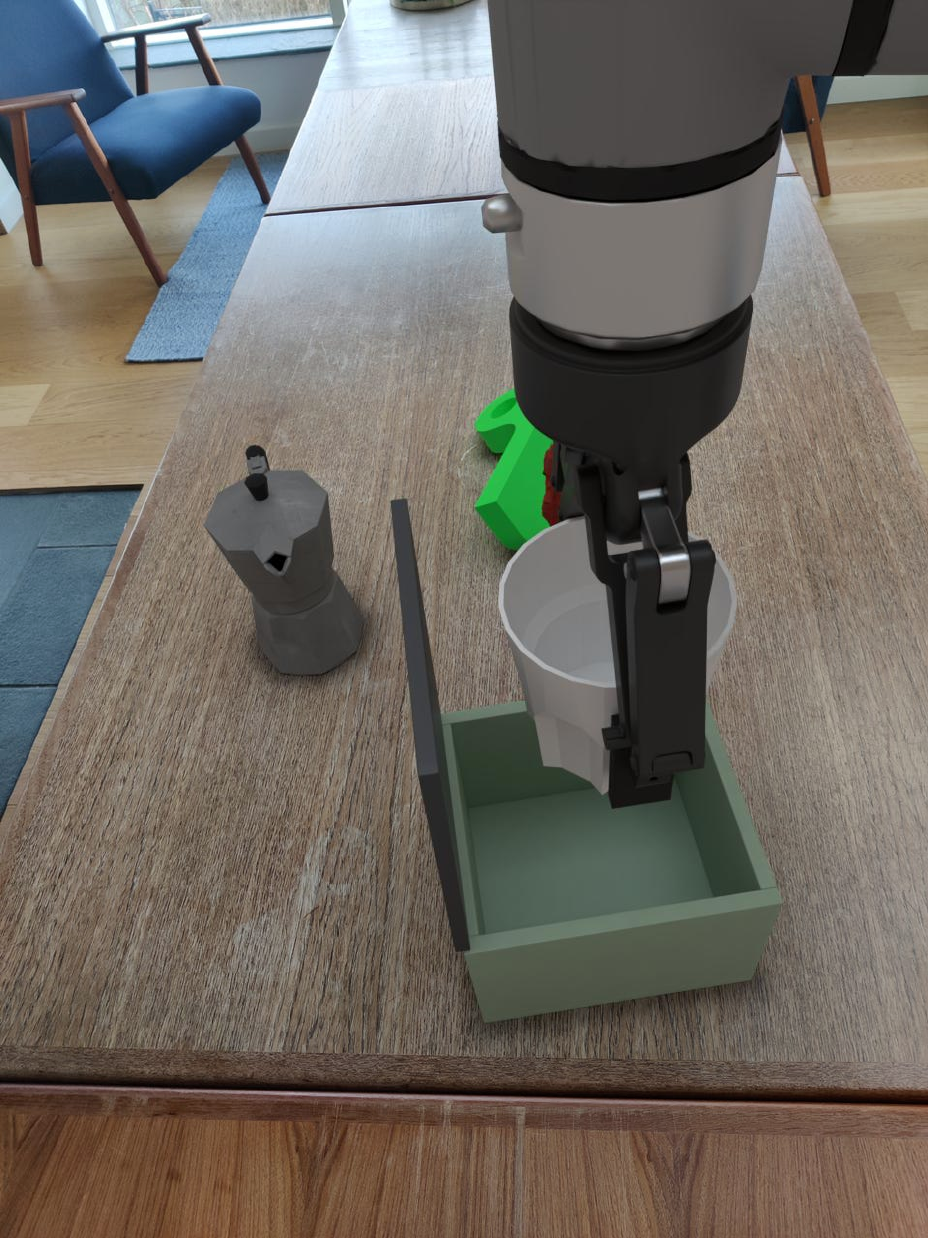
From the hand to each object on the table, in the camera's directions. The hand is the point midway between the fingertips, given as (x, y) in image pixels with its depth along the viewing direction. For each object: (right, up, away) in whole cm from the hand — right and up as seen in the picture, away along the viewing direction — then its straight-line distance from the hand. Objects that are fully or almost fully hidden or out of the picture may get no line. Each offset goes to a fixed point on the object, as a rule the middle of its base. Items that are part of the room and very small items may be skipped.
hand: (612, 702), depth 44 cm
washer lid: (-9, -2, 0) cm, 9 cm away
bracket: (-2, +17, +43) cm, 46 cm away
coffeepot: (-21, +3, +34) cm, 40 cm away
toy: (+1, +7, +34) cm, 35 cm away
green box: (+1, -14, +16) cm, 21 cm away
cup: (0, -1, +1) cm, 2 cm away
